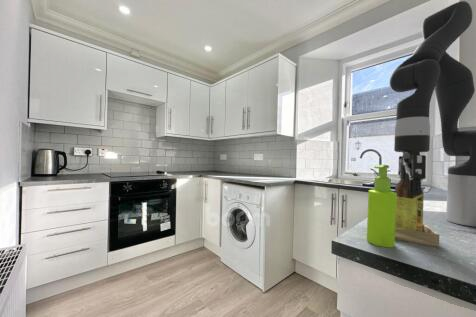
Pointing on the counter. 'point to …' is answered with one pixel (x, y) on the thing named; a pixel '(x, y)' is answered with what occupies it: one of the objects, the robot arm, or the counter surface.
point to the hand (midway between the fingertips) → (409, 192)
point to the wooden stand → (418, 236)
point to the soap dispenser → (381, 211)
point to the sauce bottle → (408, 205)
